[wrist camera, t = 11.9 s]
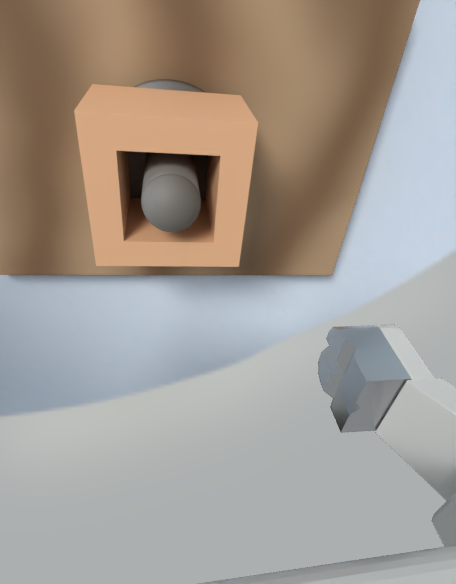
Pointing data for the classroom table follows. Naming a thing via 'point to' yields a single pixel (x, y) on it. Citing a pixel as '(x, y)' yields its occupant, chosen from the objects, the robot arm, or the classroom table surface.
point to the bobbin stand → (195, 78)
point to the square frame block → (165, 139)
